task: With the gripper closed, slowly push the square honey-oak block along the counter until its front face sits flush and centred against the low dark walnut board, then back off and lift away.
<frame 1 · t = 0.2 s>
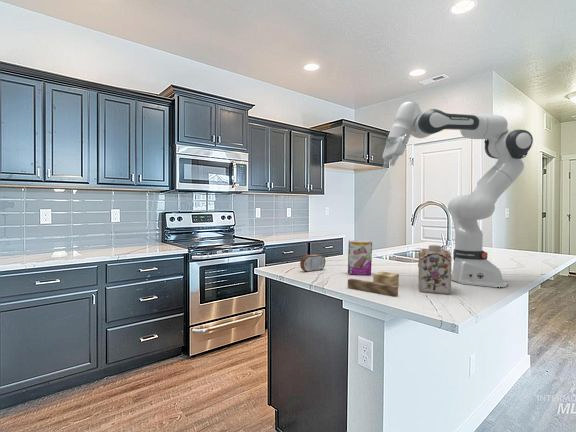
hand: (388, 166, 152), 51 cm above the countertop, tool tilted 20°, fingers open, 8 cm apart
tin: (313, 271, 174), on the countertop
candy bar box: (359, 274, 166), on the countertop
walnut board: (371, 291, 133), on the countertop
decorative jar: (433, 290, 137), on the countertop
oak block: (385, 285, 144), on the countertop
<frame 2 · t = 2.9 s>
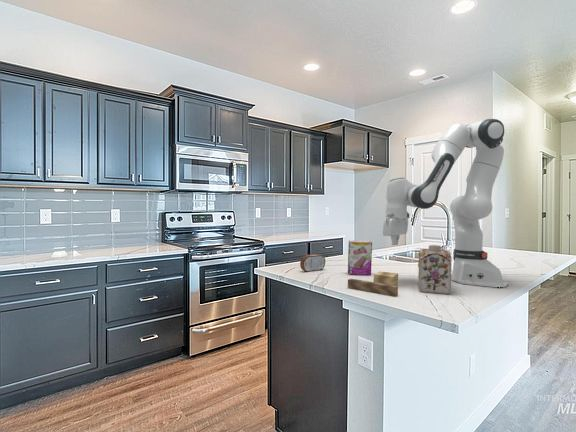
hand: (394, 245, 152), 16 cm above the countertop, tool pointing down, fingers closed
nothing on the countertop moved.
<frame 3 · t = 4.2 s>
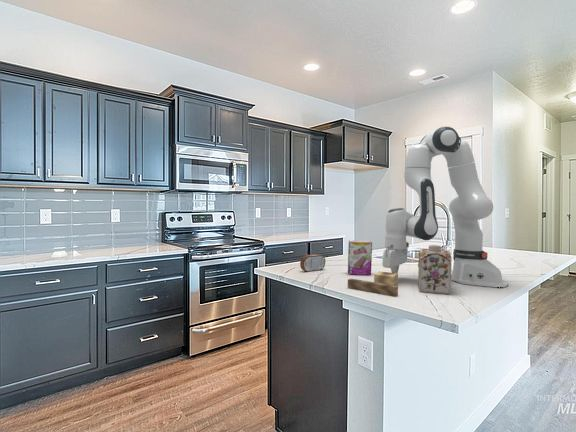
hand: (394, 275, 152), 3 cm above the countertop, tool pointing down, fingers closed
nothing on the countertop moved.
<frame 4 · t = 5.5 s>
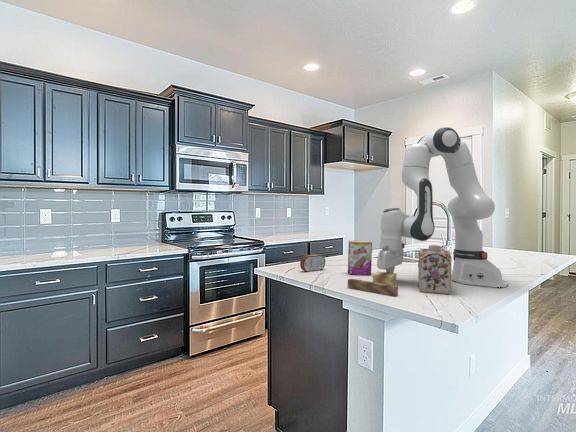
hand: (390, 276, 148), 3 cm above the countertop, tool pointing down, fingers closed
oak block: (384, 285, 144), on the countertop
everything else where it was.
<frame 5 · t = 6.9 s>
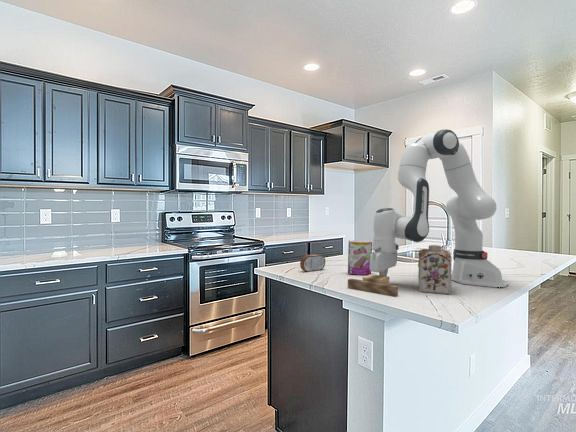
hand: (383, 279, 142), 3 cm above the countertop, tool pointing down, fingers closed
oak block: (375, 289, 139), on the countertop
everything else where it was.
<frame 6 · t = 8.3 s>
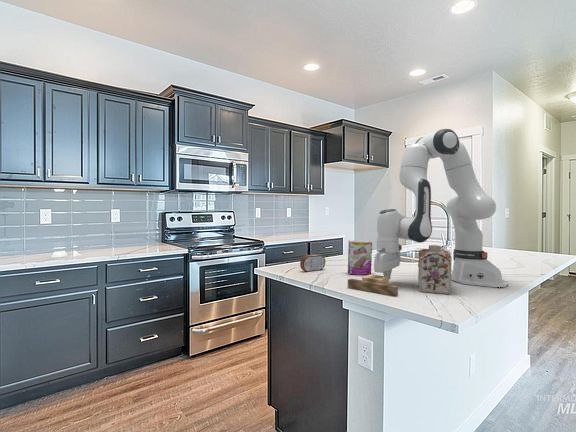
hand: (387, 279, 144), 2 cm above the countertop, tool pointing down, fingers closed
nothing on the countertop moved.
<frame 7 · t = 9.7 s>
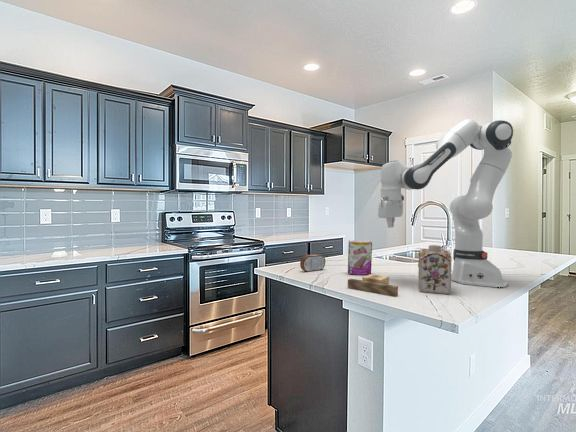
hand: (390, 227, 154), 24 cm above the countertop, tool pointing down, fingers closed
nothing on the countertop moved.
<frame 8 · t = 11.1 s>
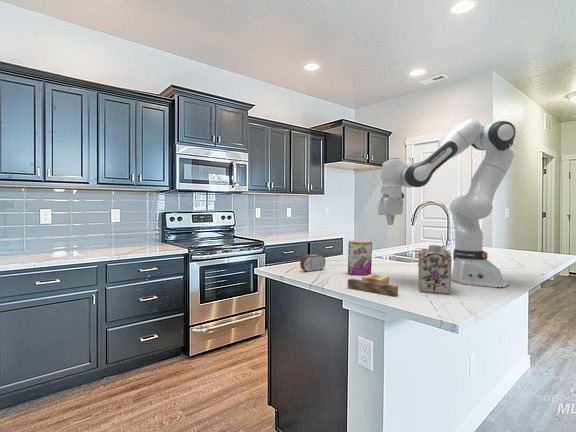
hand: (390, 224, 154), 25 cm above the countertop, tool pointing down, fingers closed
nothing on the countertop moved.
at the end: oak block 0.8 cm from the target spot on the countertop beside the walnut board, on the countertop; oak block tilted 0° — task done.
